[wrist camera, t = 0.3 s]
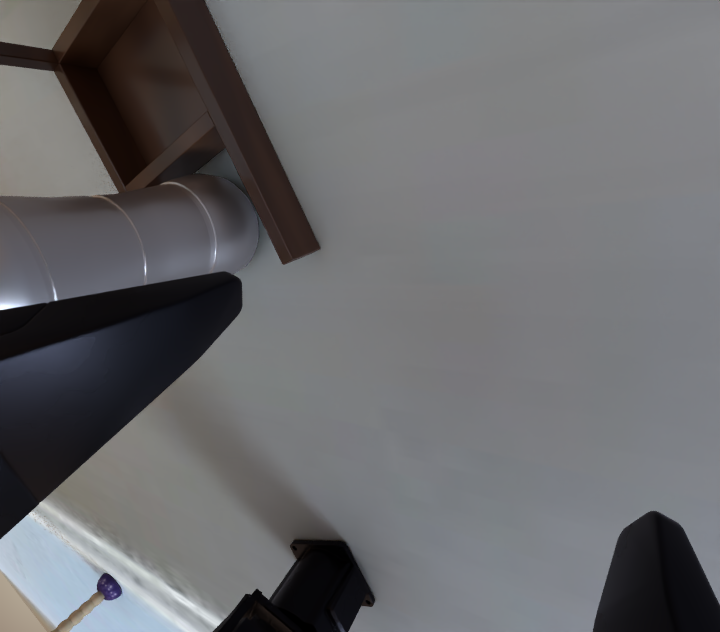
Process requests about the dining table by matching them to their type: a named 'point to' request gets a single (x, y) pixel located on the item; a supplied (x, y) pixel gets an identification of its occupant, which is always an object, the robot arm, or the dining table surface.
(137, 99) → the wooden divided caddy
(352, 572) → the robot arm
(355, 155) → the dining table surface
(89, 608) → the toy lamp
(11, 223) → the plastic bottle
